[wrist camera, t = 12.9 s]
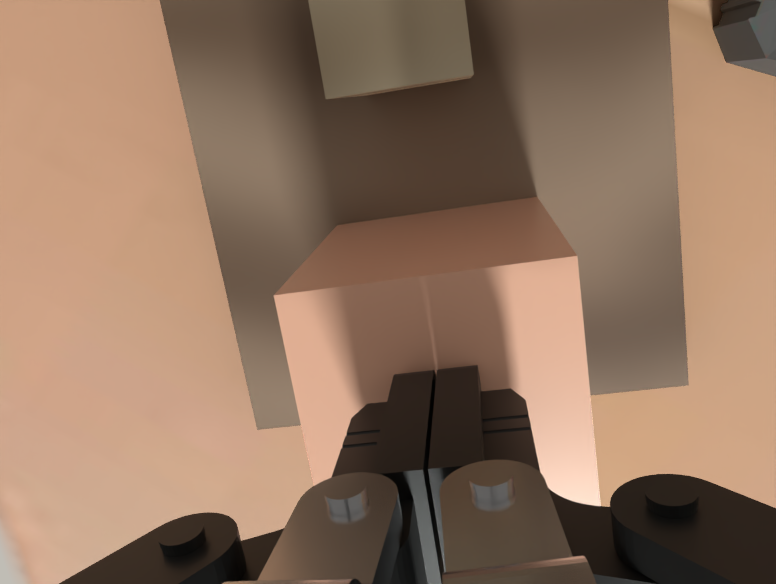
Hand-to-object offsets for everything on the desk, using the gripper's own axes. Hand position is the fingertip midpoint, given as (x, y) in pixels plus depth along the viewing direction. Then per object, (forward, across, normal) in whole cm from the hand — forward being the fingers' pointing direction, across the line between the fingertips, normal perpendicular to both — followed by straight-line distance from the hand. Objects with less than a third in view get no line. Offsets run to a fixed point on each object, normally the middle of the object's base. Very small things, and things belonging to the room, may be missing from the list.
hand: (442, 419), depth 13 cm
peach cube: (+7, 0, 0) cm, 7 cm away
